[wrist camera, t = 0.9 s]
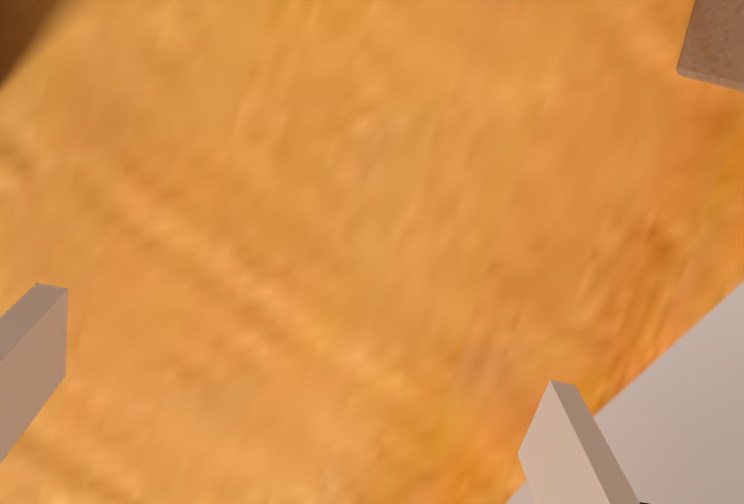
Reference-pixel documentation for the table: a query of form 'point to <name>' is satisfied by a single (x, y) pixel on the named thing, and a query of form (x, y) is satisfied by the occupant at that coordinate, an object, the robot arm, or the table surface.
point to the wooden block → (715, 44)
